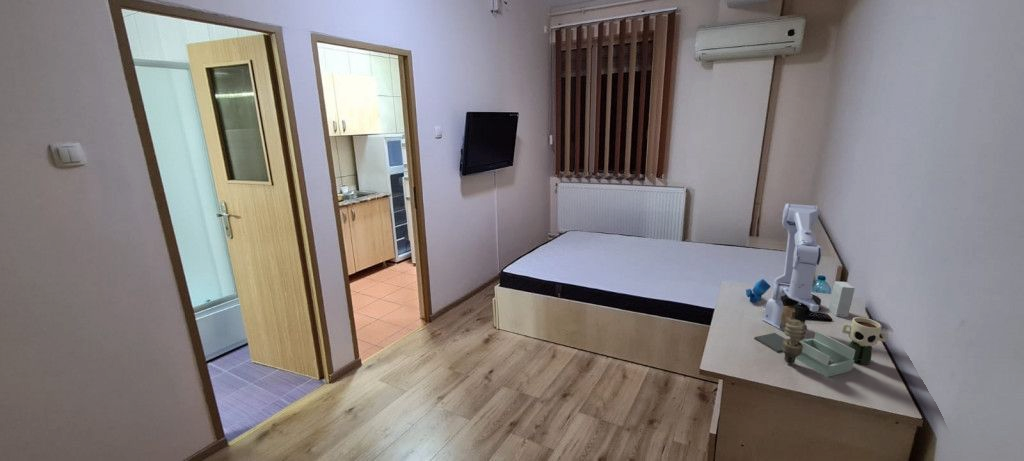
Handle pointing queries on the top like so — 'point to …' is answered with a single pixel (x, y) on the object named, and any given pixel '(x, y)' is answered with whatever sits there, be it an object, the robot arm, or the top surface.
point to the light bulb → (793, 339)
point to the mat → (771, 341)
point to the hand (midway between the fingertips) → (793, 321)
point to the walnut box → (787, 316)
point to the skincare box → (841, 299)
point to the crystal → (757, 291)
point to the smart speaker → (816, 299)
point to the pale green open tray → (826, 355)
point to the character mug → (864, 337)
